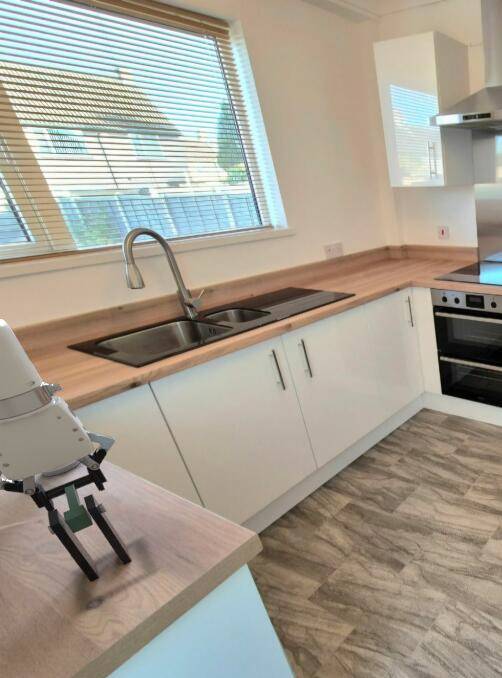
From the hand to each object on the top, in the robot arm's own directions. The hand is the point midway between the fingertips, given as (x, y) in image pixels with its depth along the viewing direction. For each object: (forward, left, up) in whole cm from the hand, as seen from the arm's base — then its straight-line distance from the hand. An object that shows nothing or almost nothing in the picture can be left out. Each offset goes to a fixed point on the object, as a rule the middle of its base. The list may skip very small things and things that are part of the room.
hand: (76, 496), depth 71 cm
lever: (+3, -5, +1) cm, 6 cm away
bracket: (+5, -10, -9) cm, 14 cm away
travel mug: (-18, +30, -9) cm, 36 cm away
